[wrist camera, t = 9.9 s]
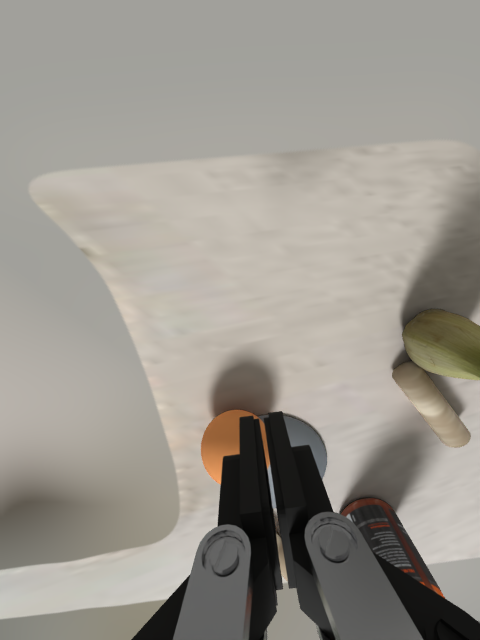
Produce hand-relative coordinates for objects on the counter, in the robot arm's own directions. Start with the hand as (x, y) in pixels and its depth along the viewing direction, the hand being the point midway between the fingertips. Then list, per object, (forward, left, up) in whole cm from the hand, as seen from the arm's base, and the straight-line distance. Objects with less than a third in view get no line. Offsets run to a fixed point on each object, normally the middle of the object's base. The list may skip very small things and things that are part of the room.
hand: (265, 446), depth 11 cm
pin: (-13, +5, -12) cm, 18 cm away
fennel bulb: (-15, +2, -14) cm, 20 cm away
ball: (+3, +9, -10) cm, 14 cm away
